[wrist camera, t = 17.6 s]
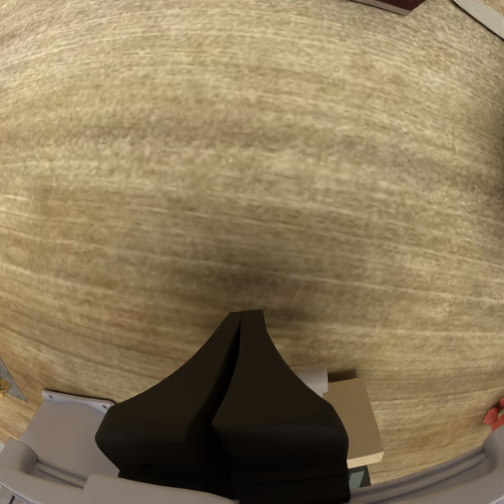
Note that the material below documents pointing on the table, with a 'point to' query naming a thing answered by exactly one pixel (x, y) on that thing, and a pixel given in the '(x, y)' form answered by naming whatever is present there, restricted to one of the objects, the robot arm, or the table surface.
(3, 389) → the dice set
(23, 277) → the table surface
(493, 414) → the cat figurine
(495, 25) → the butter knife
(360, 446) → the drawer
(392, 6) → the supplement box
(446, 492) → the robot arm
